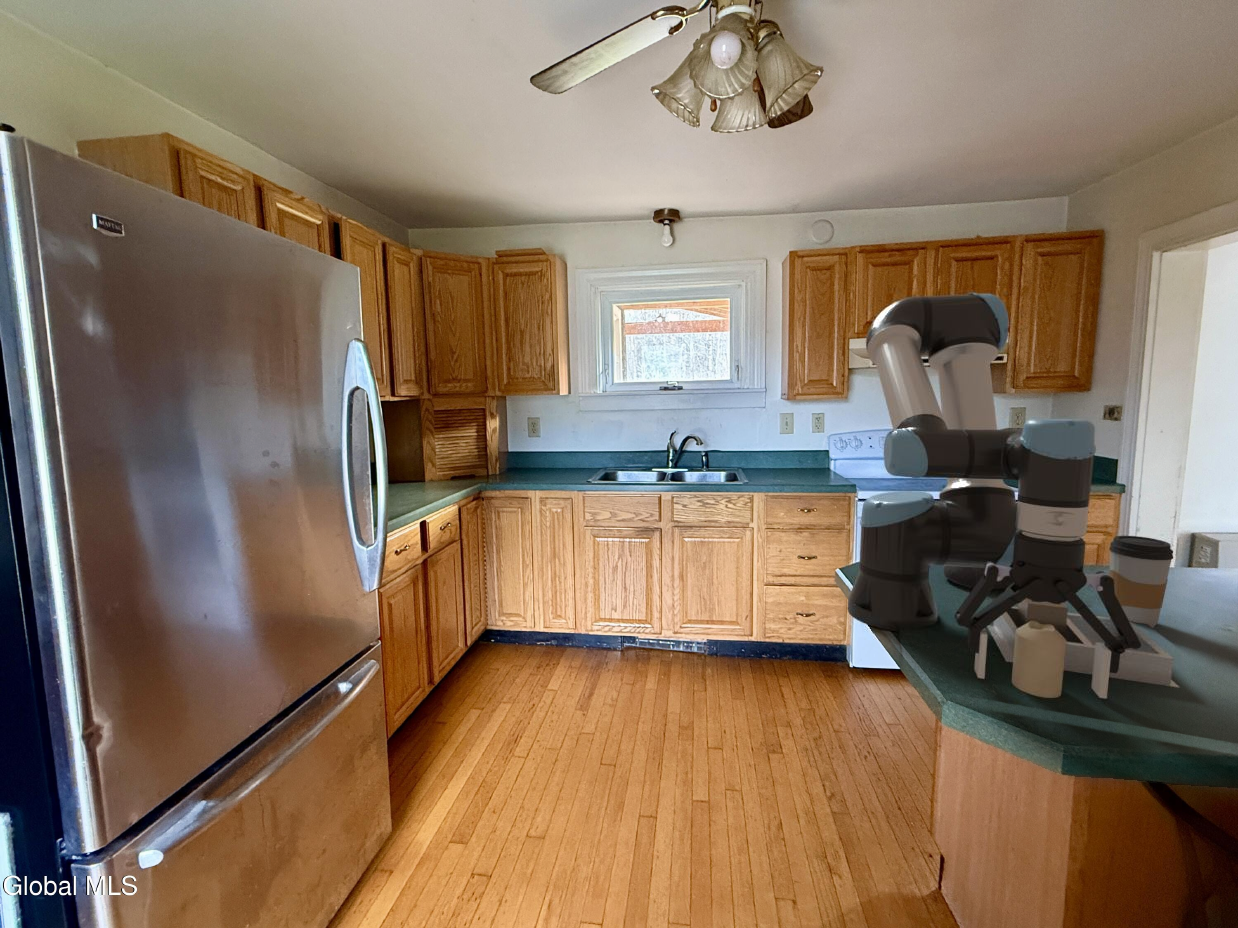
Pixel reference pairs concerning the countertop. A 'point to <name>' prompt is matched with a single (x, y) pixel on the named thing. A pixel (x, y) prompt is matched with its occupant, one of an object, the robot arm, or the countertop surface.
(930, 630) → the countertop surface
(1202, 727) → the countertop surface
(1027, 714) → the countertop surface
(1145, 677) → the divided tray
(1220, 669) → the countertop surface
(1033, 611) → the block
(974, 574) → the teapot
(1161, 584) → the coffee cup
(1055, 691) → the candle
